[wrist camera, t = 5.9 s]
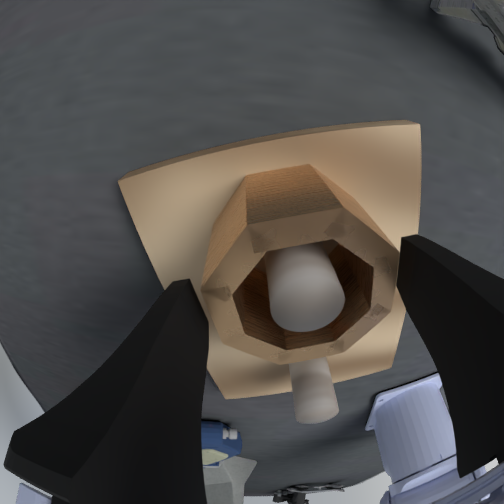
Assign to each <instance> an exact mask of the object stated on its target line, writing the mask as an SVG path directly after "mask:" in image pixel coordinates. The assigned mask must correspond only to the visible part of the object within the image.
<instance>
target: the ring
mask: <svg viewBox="0 0 504 504" xmlns="http://www.w3.org/2000/svg"><path fill="white" fill-rule="evenodd" d="M330 239H334V240H335V241H337V242H338V245H337V246H336V247H335V248H334V249H333V250H332V251H331V252H330V254H329V255H328V257H329V259H330V261H331V264H332V266H333V268H334V271H335V273H336V275H337V277H338V280H339V282H340V285H341V287H342V289H343V292H344V295H345V302H344V306H343V309H342V311H341V312H340V314H339V315H338V316H337V317H336V318H335V319H334V320H333V321H332V322H331V323H329V324H328V325H326V326H324V327H322V328H319V329H316V330H313V331H308V332H295V331H290V330H287V329H284V328H282V327H281V326H279V325H278V324H277V323H276V322H275V321H274V319H273V318H272V315H271V310H270V301H269V292H268V283H267V274H266V273H265V272H263V271H261V270H259V269H257V268H255V266H256V264H257V263H258V262H259V261H260V259H261V258H262V257H263V256H264V254H265V253H266V252H267V251H271V250H276V249H281V248H287V247H292V246H298V245H303V244H308V243H314V242H319V241H325V240H330ZM399 255H400V252H399V251H398V250H397V248H396V247H395V246H394V245H393V243H392V242H391V241H390V240H389V238H388V237H387V236H386V235H385V233H384V232H383V231H382V230H381V229H380V227H379V226H378V225H377V224H376V223H375V221H374V220H373V219H372V218H371V217H370V216H369V214H368V213H367V212H366V211H365V210H364V209H363V208H362V206H361V205H360V204H359V203H358V202H357V201H356V200H355V199H354V198H353V197H352V196H351V195H350V194H348V193H347V192H346V191H345V190H343V189H342V188H341V187H339V186H338V185H337V184H336V183H334V182H333V181H332V180H330V179H329V178H328V177H326V176H325V175H324V174H322V173H321V172H320V171H318V170H317V169H316V168H314V167H313V166H311V165H310V164H305V165H299V166H293V167H287V168H281V169H276V170H270V171H265V172H260V173H254V174H249V175H246V176H245V177H244V179H243V180H242V182H241V183H240V185H239V186H238V187H237V189H236V190H235V192H234V193H233V195H232V196H231V198H230V199H229V201H228V202H227V204H226V205H225V207H224V208H223V210H222V211H221V213H220V214H219V216H218V217H217V219H216V220H215V222H214V223H213V228H212V233H211V238H210V242H209V247H208V253H207V258H206V263H205V268H204V273H203V279H202V284H201V289H200V291H201V293H202V296H203V298H204V301H205V303H206V306H207V308H208V310H209V313H210V315H211V318H212V320H213V322H214V325H215V327H216V329H217V332H218V334H219V336H220V339H221V341H222V343H223V344H224V345H227V346H229V347H232V348H235V349H237V350H240V351H242V352H245V353H248V354H250V355H253V356H256V357H259V358H261V359H264V360H267V361H270V362H273V363H276V364H279V365H283V364H289V363H295V362H300V361H306V360H311V359H316V358H321V357H326V356H331V355H335V354H340V353H343V352H345V351H346V350H348V349H349V348H350V347H351V346H352V345H354V344H355V343H356V342H357V341H358V340H360V339H361V338H362V337H363V336H364V335H366V334H367V333H368V332H369V331H370V330H371V329H372V328H374V327H375V326H376V325H377V324H378V323H379V322H380V321H381V320H383V319H384V318H385V317H386V316H387V315H388V314H389V313H390V312H391V311H392V306H393V300H394V293H395V287H396V280H397V272H398V264H399Z"/></svg>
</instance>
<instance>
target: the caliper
mask: <svg viewBox="0 0 504 504" xmlns="http://www.w3.org/2000/svg"><path fill="white" fill-rule="evenodd" d="M430 8H431V9H432V10H434V11H435V12H437V13H438V14H441V15H446V16H450V17H454V18H458V19H462V20H466V21H469V22H473V23H476V24H479V25H483V26H486V27H488V28H489V29H490V30H491V32H492V33H493V34H494V40H495V42H496V45H497V48H498V49H499V51H500V52H501V53H502V54H503V55H504V0H431V4H430Z"/></svg>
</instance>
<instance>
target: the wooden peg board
mask: <svg viewBox="0 0 504 504" xmlns="http://www.w3.org/2000/svg"><path fill="white" fill-rule="evenodd" d="M305 164H310V165H311V166H313V167H314V168H316V169H317V170H318V171H320V172H321V173H322V174H324V175H325V176H326V177H328V178H329V179H330V180H332V181H333V182H334V183H336V184H337V185H338V186H339V187H341V188H342V189H343V190H345V191H346V192H347V193H348V194H350V195H351V196H352V197H353V198H354V199H355V200H356V201H357V202H358V203H359V204H360V205H361V206H362V208H363V209H364V210H365V211H366V212H367V213H368V214H369V216H370V217H371V218H372V219H373V220H374V221H375V223H376V224H377V225H378V226H379V227H380V229H381V230H382V231H383V232H384V233H385V235H386V236H387V237H388V238H389V240H390V241H391V242H392V243H393V245H394V246H395V247H396V248H397V250H398V251H399V252H400V245H401V237H405V236H410V235H414V234H417V235H418V226H419V214H420V197H421V133H420V124H418V123H414V122H411V121H408V120H391V121H375V122H363V123H352V124H342V125H333V126H325V127H318V128H310V129H304V130H297V131H291V132H285V133H279V134H273V135H268V136H263V137H258V138H253V139H248V140H243V141H239V142H234V143H230V144H225V145H221V146H217V147H213V148H209V149H205V150H201V151H197V152H193V153H190V154H186V155H182V156H179V157H175V158H172V159H168V160H165V161H162V162H158V163H155V164H152V165H149V166H146V167H143V168H140V169H137V170H134V171H131V172H128V173H127V174H126V175H125V176H123V177H122V178H121V179H120V180H119V181H118V183H119V186H120V189H121V191H122V194H123V197H124V199H125V202H126V204H127V207H128V209H129V212H130V214H131V217H132V219H133V222H134V224H135V226H136V229H137V231H138V234H139V236H140V238H141V241H142V243H143V245H144V247H145V250H146V252H147V254H148V256H149V258H150V261H151V263H152V265H153V267H154V269H155V271H156V274H157V276H158V278H159V280H160V282H161V284H162V286H163V288H164V290H166V288H167V287H168V286H169V285H170V284H171V283H172V282H173V281H177V280H183V279H189V278H190V280H191V282H192V285H193V287H194V290H195V292H196V294H197V297H198V299H199V301H200V303H201V306H202V308H203V310H204V313H205V315H206V317H207V319H208V321H209V352H208V361H207V370H208V371H209V373H210V375H211V376H212V378H213V380H214V381H215V383H216V384H217V386H218V388H219V389H220V391H221V392H222V394H223V396H224V397H225V399H235V398H245V397H254V396H262V395H270V394H277V393H283V392H290V391H292V392H293V400H294V408H295V415H296V420H297V421H298V422H300V423H304V424H314V423H320V422H323V421H326V420H329V419H331V418H333V417H334V416H336V415H337V414H338V412H339V409H338V404H337V400H336V395H335V391H334V387H333V383H336V382H340V381H344V380H348V379H352V378H356V377H360V376H364V375H368V374H371V373H375V372H378V371H382V370H385V369H389V368H391V366H392V363H393V359H394V356H395V352H396V349H397V345H398V341H399V337H400V333H401V329H402V325H403V321H404V316H405V312H406V308H405V306H404V303H403V301H402V299H401V296H400V294H399V291H398V289H397V287H395V293H394V300H393V306H392V311H391V312H390V313H389V314H388V315H387V316H386V317H385V318H384V319H383V320H381V321H380V322H379V323H378V324H377V325H376V326H375V327H374V328H372V329H371V330H370V331H369V332H368V333H367V334H366V335H364V336H363V337H362V338H361V339H360V340H358V341H357V342H356V343H355V344H354V345H352V346H351V347H350V348H349V349H348V350H346V351H345V352H343V353H340V354H335V355H331V356H326V357H321V358H316V359H311V360H306V361H300V362H295V363H289V364H283V365H279V364H276V363H273V362H270V361H267V360H264V359H261V358H259V357H256V356H253V355H250V354H248V353H245V352H242V351H240V350H237V349H235V348H232V347H229V346H227V345H224V344H223V343H222V341H221V339H220V336H219V334H218V332H217V329H216V327H215V325H214V322H213V320H212V318H211V315H210V313H209V310H208V308H207V306H206V303H205V301H204V298H203V296H202V293H201V291H200V289H201V284H202V279H203V273H204V268H205V263H206V258H207V253H208V247H209V242H210V238H211V233H212V228H213V223H214V222H215V220H216V219H217V217H218V216H219V214H220V213H221V211H222V210H223V208H224V207H225V205H226V204H227V202H228V201H229V199H230V198H231V196H232V195H233V193H234V192H235V190H236V189H237V187H238V186H239V185H240V183H241V182H242V180H243V179H244V177H245V176H246V175H249V174H254V173H260V172H265V171H270V170H276V169H281V168H287V167H293V166H299V165H305ZM337 245H338V242H337V241H335V240H334V239H330V240H325V241H319V242H314V243H308V244H303V245H298V246H292V247H287V248H281V249H276V250H271V251H267V252H266V253H265V254H264V256H263V257H262V258H261V259H260V261H259V262H258V263H257V264H256V266H255V268H257V269H259V270H261V271H263V272H265V273H266V274H267V283H268V292H269V301H270V310H271V315H272V318H273V319H274V321H275V322H276V323H277V324H278V325H279V326H281V327H282V328H284V329H287V330H290V331H295V332H308V331H313V330H316V329H319V328H322V327H324V326H326V325H328V324H329V323H331V322H332V321H333V320H334V319H335V318H336V317H337V316H338V315H339V314H340V312H341V311H342V309H343V306H344V302H345V295H344V292H343V289H342V287H341V285H340V282H339V280H338V277H337V275H336V273H335V271H334V268H333V266H332V264H331V261H330V259H329V257H328V255H329V254H330V252H331V251H332V250H333V249H334V248H335V247H336V246H337ZM399 256H400V255H399ZM398 265H399V264H398ZM397 274H398V272H397ZM396 282H397V280H396Z"/></svg>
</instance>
